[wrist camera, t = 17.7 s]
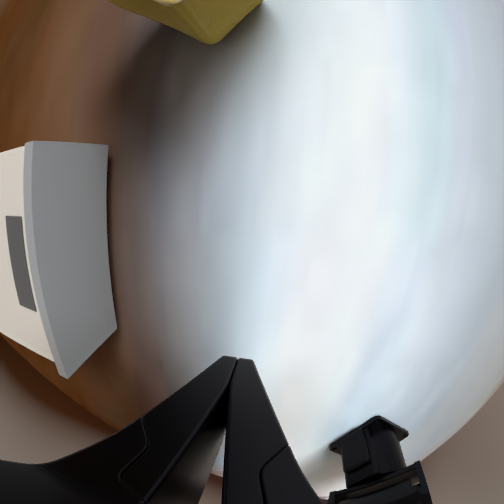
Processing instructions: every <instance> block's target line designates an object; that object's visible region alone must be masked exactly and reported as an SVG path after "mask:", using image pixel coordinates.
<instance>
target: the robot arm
mask: <svg viewBox="0 0 504 504" xmlns="http://www.w3.org/2000/svg"><path fill="white" fill-rule="evenodd" d="M225 432H226V437H225V453H224V469H223V487H222V504H323V503H322V501H321V500H320V498H319V497H318V496H317V494H316V493H315V491H314V490H313V488H312V487H311V485H310V484H309V482H308V481H307V479H306V477H305V476H304V474H303V473H302V471H301V469H300V467H299V465H298V463H297V461H296V459H295V457H294V455H293V452H292V450H291V448H290V446H288V442H287V439H286V437H285V435H284V433H283V430H282V428H281V426H280V424H279V421H278V419H277V417H276V414H275V412H274V410H273V407H272V405H271V403H270V400H269V398H268V395H267V393H266V391H265V388H264V386H263V383H262V381H261V379H260V376H259V374H258V371H257V369H256V366H255V364H254V361H253V360H251V359H244V358H239V359H237V358H236V357H230V356H222V357H221V358H220V359H218V360H217V361H216V362H215V363H213V364H212V365H211V366H209V367H208V368H207V369H206V370H204V371H203V372H202V373H200V374H199V375H198V376H196V377H195V378H194V379H192V380H191V381H190V382H188V383H187V384H186V385H184V386H183V387H182V388H180V389H179V390H178V391H176V392H175V393H174V394H172V395H171V396H170V397H168V398H167V399H165V400H164V401H163V402H161V403H160V404H158V405H157V406H156V407H154V408H153V409H151V410H150V411H149V412H147V413H146V414H144V415H143V416H142V418H138V419H137V420H135V421H134V422H132V423H131V424H129V425H128V426H126V427H125V428H123V429H121V430H120V431H118V432H116V433H115V434H113V435H111V436H109V437H108V438H105V439H103V440H101V441H99V442H97V443H95V444H93V445H91V446H89V447H87V448H84V449H82V450H80V451H77V452H75V453H73V454H71V455H68V456H65V457H63V458H61V459H58V460H55V461H52V462H48V463H42V464H25V463H18V462H10V461H5V460H0V504H198V503H199V500H200V498H201V495H202V493H203V490H204V488H205V485H206V483H207V480H208V478H209V475H210V473H211V470H212V467H213V465H214V462H215V460H216V457H217V454H218V452H219V449H220V446H221V444H222V441H223V438H224V435H225ZM408 435H409V433H408V431H407V430H405V429H403V428H401V427H400V426H398V425H396V424H394V423H392V422H391V421H389V420H387V419H385V418H383V417H382V416H375V417H374V418H372V419H371V420H369V421H368V422H366V423H365V424H363V425H362V426H360V427H359V428H357V429H356V430H354V431H353V432H351V433H349V434H348V435H346V436H344V437H343V438H341V439H339V440H338V441H336V442H334V443H333V444H331V445H330V446H329V447H330V450H331V451H333V452H335V453H338V454H340V455H342V462H343V471H344V472H345V479H346V488H347V489H343V490H340V491H333V492H330V495H329V499H328V504H432V500H431V496H430V493H429V489H428V486H427V483H426V479H425V476H424V473H423V470H422V467H421V464H420V461H417V462H415V463H414V464H412V465H410V466H408V467H406V464H405V460H404V457H403V453H402V450H401V446H400V443H399V442H400V441H401V440H403V439H404V438H406V437H407V436H408ZM417 482H420V483H419V484H417V485H413V484H415V483H417ZM412 485H413V486H412Z"/></svg>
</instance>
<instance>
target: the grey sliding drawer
mask: <svg viewBox="0 0 504 504" xmlns="http://www.w3.org/2000/svg"><path fill="white" fill-rule="evenodd" d="M107 160H108V145H100V144H88V143H73V142H52V141H31V142H28V143H25V150H24V172H23V196H24V218H25V231H26V241H27V249H28V257H29V263H30V270H31V275H32V281H33V286H34V291H35V296H36V300H37V304H38V308H39V312H40V316H41V320H42V324H43V327H44V331H45V334H46V337H47V341H48V344H49V347H50V350H51V353H52V356H53V359H54V361H55V364H56V367H57V370H58V372H59V375H61V376H63V377H65V378H67V379H68V378H69V377H70V376H71V375H72V374H73V373H74V372H75V371H76V370H77V369H78V368H79V367H80V366H81V365H82V364H83V363H84V362H85V361H86V360H87V359H88V358H89V357H90V356H91V355H92V354H93V352H94V351H95V350H96V349H97V348H98V347H99V346H100V345H101V344H102V343H103V342H104V341H105V340H106V339H107V338H108V337H109V336H110V335H111V334H112V333H113V332H114V331H115V330H116V329H117V324H116V318H115V311H114V304H113V296H112V288H111V279H110V269H109V257H108V241H107V213H106V187H107Z"/></svg>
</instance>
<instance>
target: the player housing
mask: <svg viewBox="0 0 504 504" xmlns="http://www.w3.org/2000/svg"><path fill="white" fill-rule="evenodd" d="M24 150H25V146H23V147H19V148H15V149H12V150H8V151H5V152H1V153H0V332H1V333H3V334H5V335H6V336H8V337H9V338H11V339H13V340H14V341H16V342H18V343H20V344H21V345H23V346H25V347H27V348H28V349H30V350H32V351H34V352H36V353H38V354H40V355H42V356H43V357H45V358H47V359H49V360H51V361H53V362H55V361H54V359H53V356H52V353H51V350H50V347H49V344H48V341H47V337H46V334H45V331H44V327H43V324H42V320H41V316H40V312H39V308H38V304H37V300H36V296H35V291H34V286H33V281H32V275H31V270H30V263H29V257H28V249H27V241H26V231H25V218H24V196H23V172H24Z"/></svg>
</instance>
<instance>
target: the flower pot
mask: <svg viewBox="0 0 504 504" xmlns="http://www.w3.org/2000/svg"><path fill="white" fill-rule="evenodd" d="M107 1H109V2H111V3H113V4H115V5H117V6H118V7H120V8H123V9H125V10H128V11H130V12H133V13H135V14H138V15H141V16H144V17H147V18H150V19H153V20H155V21H158V22H160V23H163V24H165V25H167V26H170V27H172V28H174V29H176V30H178V31H181V32H183V33H185V34H187V35H189V36H191V37H193V38H195V39H197V40H199V41H201V42H203V43H206V44H215V43H217V42H219V41H221V40H222V39H223V38H224V37H225V36H226V35H227V34H228V33H229V32H230V31H231V30H232V29H233V28H234V27H235V26H236V25H237V24H238V23H239V22H240V21H241V20H242V19H243V18H244V17H245V16H246V15H247V14H249V13H250V12H251V11H252V10H253V9H254V8H255V7H256V6H258V5H259V4H260V3H261V2H262V1H263V0H107Z"/></svg>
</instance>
